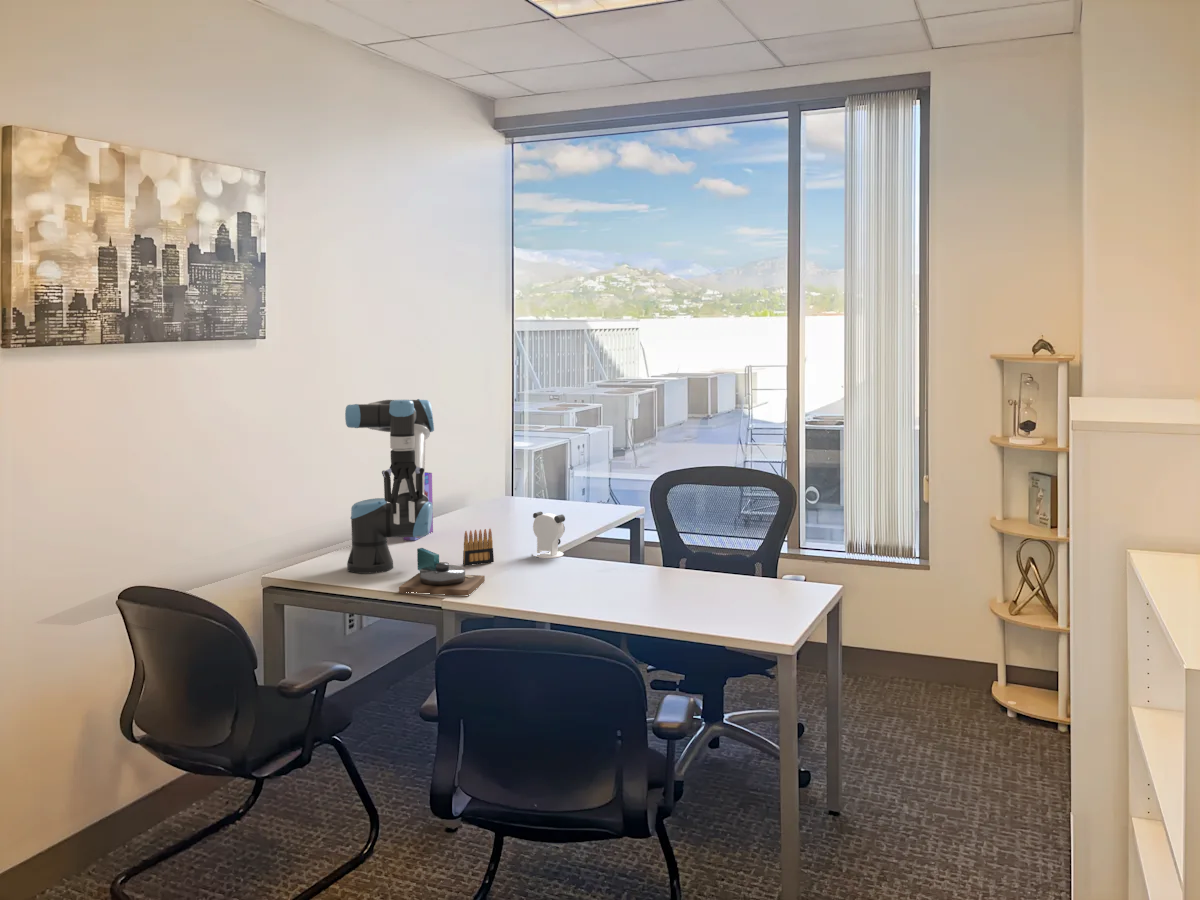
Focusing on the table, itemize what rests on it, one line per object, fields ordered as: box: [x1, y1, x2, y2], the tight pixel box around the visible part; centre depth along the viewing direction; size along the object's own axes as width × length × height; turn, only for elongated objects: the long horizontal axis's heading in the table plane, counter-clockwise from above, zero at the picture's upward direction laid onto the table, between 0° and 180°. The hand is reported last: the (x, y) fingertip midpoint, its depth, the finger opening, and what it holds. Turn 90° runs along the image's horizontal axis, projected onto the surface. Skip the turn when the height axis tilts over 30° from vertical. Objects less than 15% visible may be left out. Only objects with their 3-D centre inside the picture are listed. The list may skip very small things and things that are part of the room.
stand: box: [398, 572, 486, 596], centre depth 314 cm, size 22×18×2 cm
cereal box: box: [402, 471, 434, 542], centre depth 390 cm, size 17×5×24 cm, turn 167°
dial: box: [416, 547, 466, 585], centre depth 317 cm, size 23×14×7 cm, turn 36°
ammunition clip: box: [462, 528, 495, 566], centre depth 345 cm, size 11×2×12 cm, turn 118°
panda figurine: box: [532, 511, 566, 559], centre depth 358 cm, size 12×11×15 cm
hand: (404, 522), depth 316 cm, fingers open, 4 cm apart
